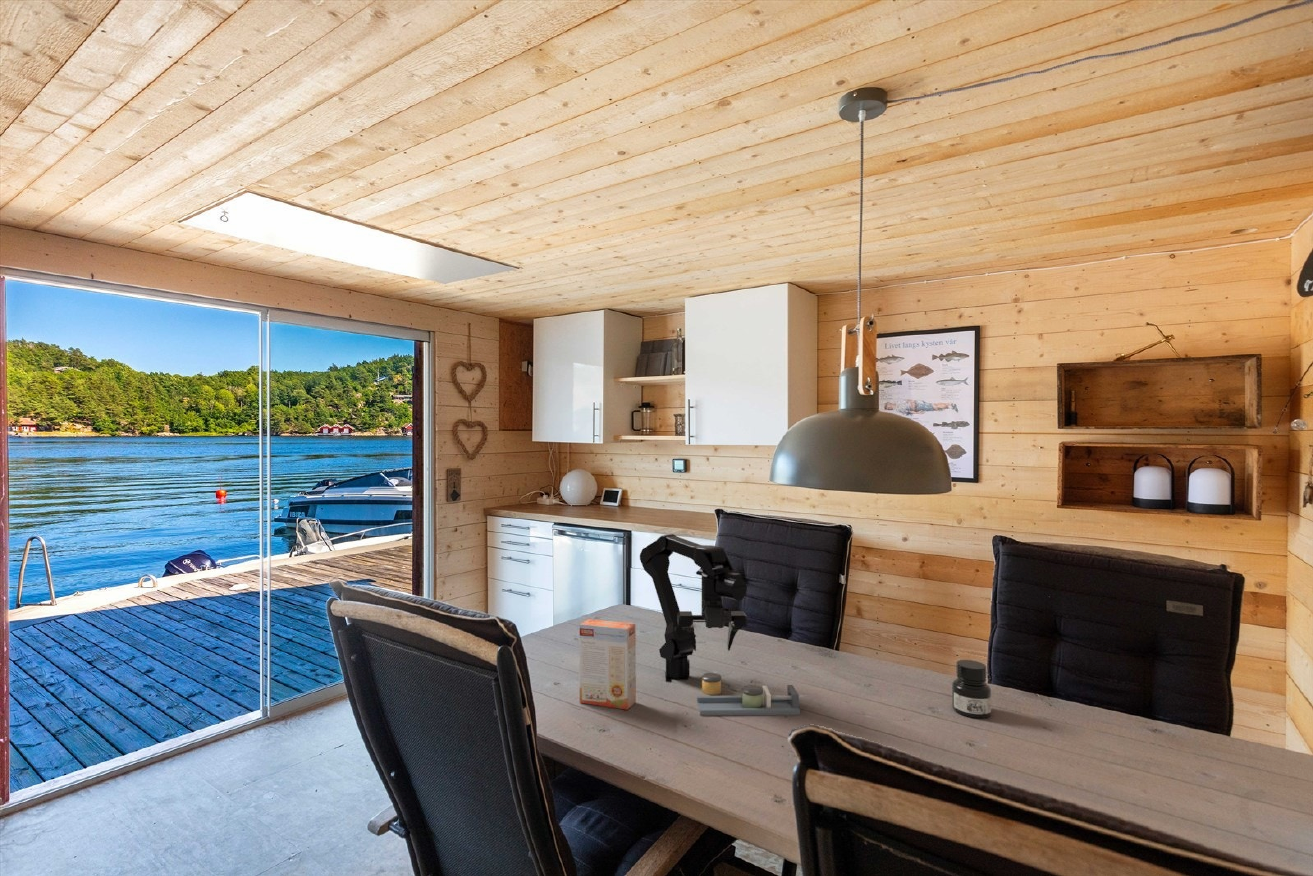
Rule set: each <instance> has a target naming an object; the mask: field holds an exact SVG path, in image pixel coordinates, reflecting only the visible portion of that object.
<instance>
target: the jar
mask: <svg viewBox="0 0 1313 876" xmlns="http://www.w3.org/2000/svg"><path fill="white" fill-rule="evenodd" d="M701 692H702V693H703V694H704V695H706V696H718V695H720V694H721V693H722V675H721V674H718V673H715V672H706V673H703V674H702V675H701Z"/></svg>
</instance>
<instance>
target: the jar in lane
mask: <svg viewBox="0 0 1313 876" xmlns="http://www.w3.org/2000/svg"><path fill="white" fill-rule="evenodd" d="M741 692H742V695H741V696H742V707H743V708H763V688H762V687H761V686H760V685H753V684H751V685H750V684H748V685H743V686H742V687H741Z"/></svg>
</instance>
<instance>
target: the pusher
mask: <svg viewBox="0 0 1313 876" xmlns="http://www.w3.org/2000/svg"><path fill="white" fill-rule="evenodd" d="M761 688H763V703H764V706H765V708H771V700H792V695H787V694H786V695H787V696H771V695H772V694H771V693H770V690H769V689H768V686H767V685H762V687H761ZM812 699H813V696H812V695H810V694H809V695H807V694H805V695H803V694H799V701H800V700H803V701H805V700H809V701H810V700H812Z"/></svg>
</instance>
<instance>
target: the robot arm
mask: <svg viewBox="0 0 1313 876" xmlns="http://www.w3.org/2000/svg"><path fill="white" fill-rule="evenodd" d="M673 553H676V554H678V555H680V556H683V557H686V558H688V559H691V560H692V561H693V562H694V564H695V565H696V566H698V567H699V569H698V570H697V571H696V572H695V574H696V575H698V576H701V614H693V612H692V611H691V610H690V611H689V610H686V611H683V610H681V609H680V606H679V604H678V600H677V597H676V594H675V590H674V588H673V585H672V582H671V581H672V580H671V578H670V575H669V567H670V564H671V563H670V556H671V555H673ZM639 560H640V563H641V565H642V568H643V570H644V571H645V572H646V573H647V574H648V576H650V578H651V580H652V582H653V585H654V589H655V592H656V596H657V598H658V601H659V605H660V608H661V611H662V614H663V618H664V622H665V625H666V626H665V632H664V641H665V643H664V644H663V645H662V646H661V647H660V648H659V656H660V658H662V659H664V660H665V671H664V675H665V676H664V677H665V681H666V682H672V681H673V680H674V681H675V680H676V681H681V680H682V681H686V680H689V677H690V673H691V672H690V668H691V667H690V660H689V659H688V656H692V655H693V653H694V652H696V651H697V640H696V637H697V635H696V634H695V626H694V623H704V624H705V627H706V628H707V629H712V628H713V629H714V628H717V629H722V628H725V624H727V623H728V632H727V644H726V645H727V651H729V652H730V650H731V647H732V645H733V642H734V639H735V637H736V635H737V632H739V630H743V628H744V627H745V628H746V627H748V616H747V614H746V613H745V612H744V611H743V610H732V609H731V608H730V607H729V608H728V607H726V608H725V607H724V606H723V598H726V599H731V600H734V601H739V602H740V601H742V600H743V599H744V598H745V596H746V594H747V592H748V585H747V583H746V581H745V580H744V579H743V578H742V573H738V572H736V573H735V570H734V568H733V565H732V564H731V562H730V560H729V557H728V555H727V554H726V551H725V548H723V547H722V546H719V545H710V544H709V545H707V544H705V545H704V544H699V543H696V542H693V541H691V540H688V539H685V538H682V537H680V536H677V535H676V534H674V533H673V534H672V533H669V534H662V535H661V536H659V537H658V538H657V539H656V540H655V541H653V542H651V543H650V544H648V545H647V546H646V547H643V548H642V549H641V551H640V554H639Z"/></svg>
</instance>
